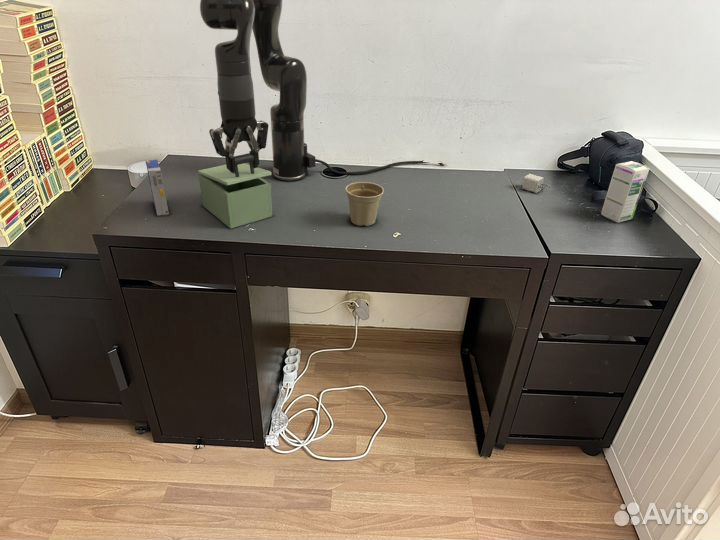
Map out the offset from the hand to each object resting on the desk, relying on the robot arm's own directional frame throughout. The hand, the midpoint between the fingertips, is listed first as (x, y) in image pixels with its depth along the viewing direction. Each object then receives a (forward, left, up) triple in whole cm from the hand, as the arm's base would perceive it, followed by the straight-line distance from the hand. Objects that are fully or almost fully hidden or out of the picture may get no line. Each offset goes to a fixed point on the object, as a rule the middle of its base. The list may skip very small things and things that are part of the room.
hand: (243, 169), depth 118 cm
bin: (0, -6, -13) cm, 14 cm away
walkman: (+15, -18, -13) cm, 27 cm away
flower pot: (-23, +17, -13) cm, 32 cm away
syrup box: (-80, +54, -13) cm, 98 cm away
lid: (0, -5, -3) cm, 6 cm away
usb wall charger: (-77, +31, -13) cm, 84 cm away
